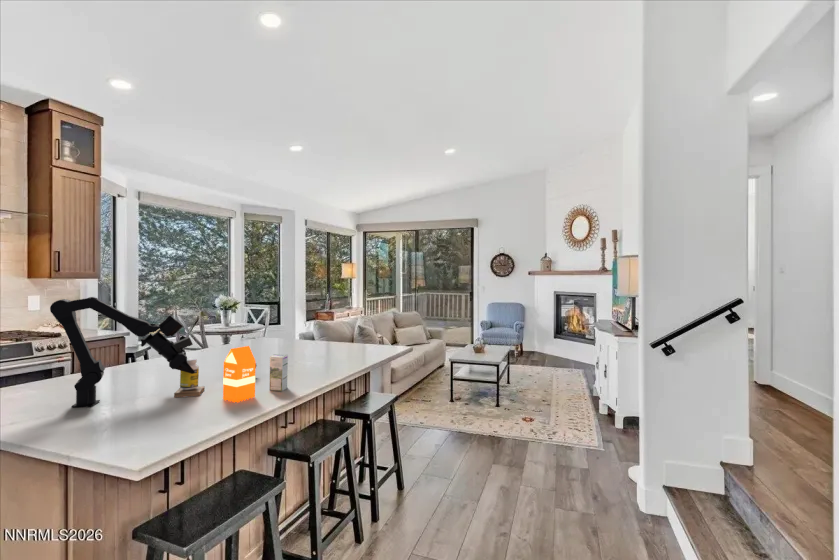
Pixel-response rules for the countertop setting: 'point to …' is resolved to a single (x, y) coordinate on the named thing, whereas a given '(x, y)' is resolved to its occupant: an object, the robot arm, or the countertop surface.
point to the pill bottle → (190, 376)
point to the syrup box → (278, 372)
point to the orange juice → (239, 375)
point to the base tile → (189, 392)
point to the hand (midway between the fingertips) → (193, 371)
